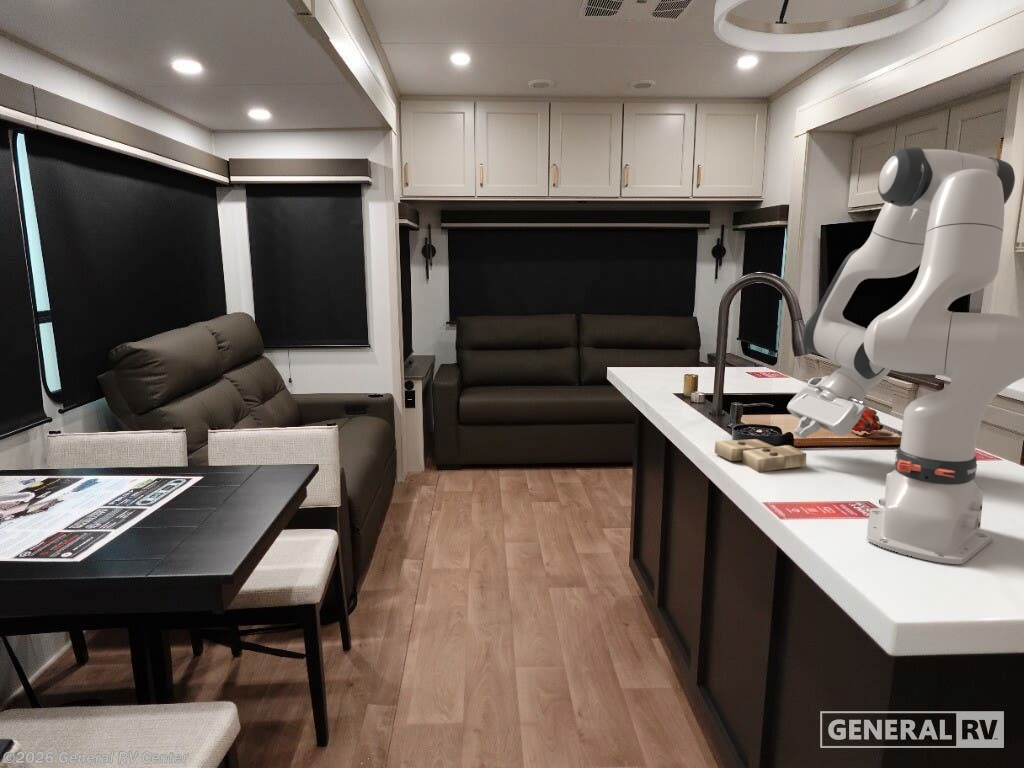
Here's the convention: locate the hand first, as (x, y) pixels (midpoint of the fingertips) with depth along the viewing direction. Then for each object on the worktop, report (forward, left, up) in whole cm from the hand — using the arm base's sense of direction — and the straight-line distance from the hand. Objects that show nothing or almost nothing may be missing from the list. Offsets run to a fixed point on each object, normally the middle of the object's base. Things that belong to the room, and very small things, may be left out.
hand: (798, 435), depth 153 cm
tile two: (-1, 0, -5) cm, 5 cm away
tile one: (+3, +8, -5) cm, 10 cm away
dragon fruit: (+38, -5, -7) cm, 39 cm away
